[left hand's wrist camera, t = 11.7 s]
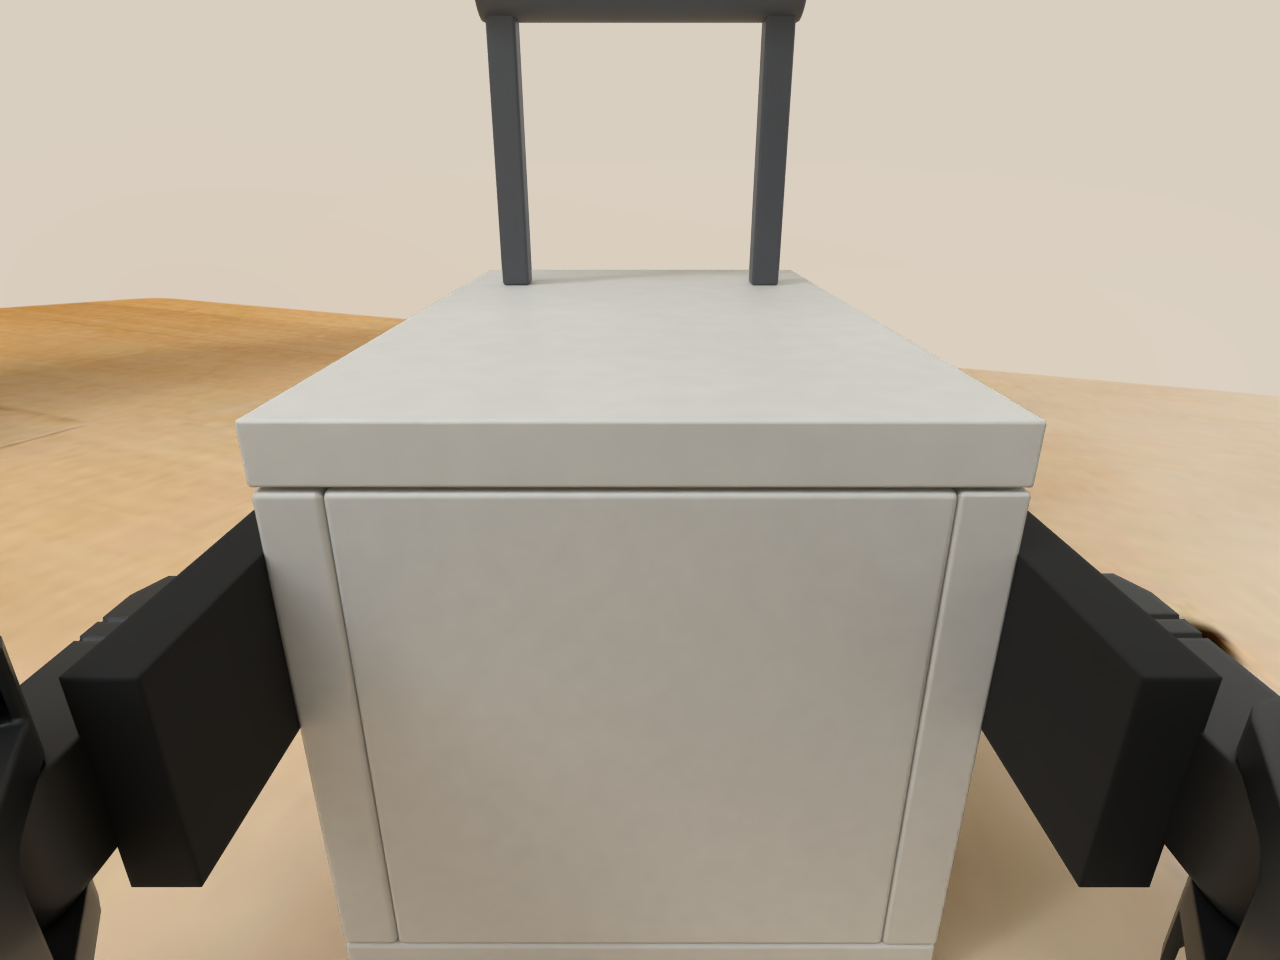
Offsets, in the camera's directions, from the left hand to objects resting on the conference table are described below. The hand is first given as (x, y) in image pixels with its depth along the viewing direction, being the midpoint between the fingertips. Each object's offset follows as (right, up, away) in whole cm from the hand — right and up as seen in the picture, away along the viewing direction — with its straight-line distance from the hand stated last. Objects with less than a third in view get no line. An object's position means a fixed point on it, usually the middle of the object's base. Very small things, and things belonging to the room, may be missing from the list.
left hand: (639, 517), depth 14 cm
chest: (0, -5, +6) cm, 7 cm away
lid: (0, +4, +3) cm, 5 cm away
